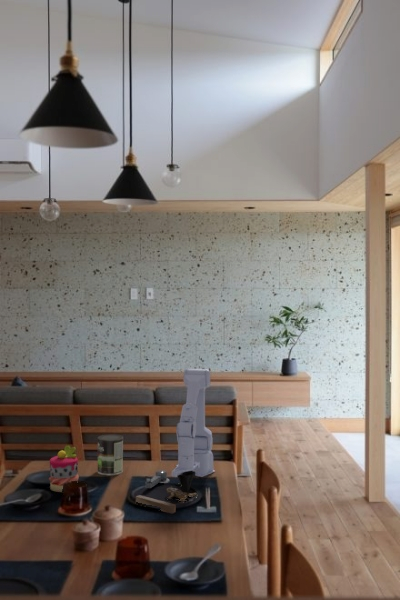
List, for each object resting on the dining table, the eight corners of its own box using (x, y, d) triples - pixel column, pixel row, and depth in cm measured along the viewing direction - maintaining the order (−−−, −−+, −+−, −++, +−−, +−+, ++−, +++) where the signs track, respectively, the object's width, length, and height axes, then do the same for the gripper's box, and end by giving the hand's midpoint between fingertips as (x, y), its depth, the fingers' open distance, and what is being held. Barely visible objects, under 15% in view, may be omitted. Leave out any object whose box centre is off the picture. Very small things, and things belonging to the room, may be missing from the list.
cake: (71, 493, 240) (71, 452, 240) (44, 491, 242) (44, 450, 242) (82, 484, 250) (82, 445, 250) (56, 482, 253) (56, 443, 252)
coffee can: (101, 476, 260) (101, 441, 259) (94, 469, 269) (94, 435, 269) (126, 473, 264) (126, 438, 264) (118, 467, 273) (118, 433, 273)
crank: (158, 476, 258) (158, 466, 258) (168, 478, 256) (168, 467, 256) (142, 487, 245) (142, 476, 244) (153, 489, 243) (153, 478, 243)
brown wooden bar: (139, 502, 231) (139, 495, 231) (175, 512, 222) (175, 504, 222) (135, 503, 229) (135, 496, 229) (171, 513, 220) (171, 506, 220)
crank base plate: (159, 477, 259) (159, 476, 259) (172, 480, 256) (172, 479, 256) (149, 481, 254) (149, 480, 254) (162, 484, 251) (162, 483, 251)
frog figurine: (158, 502, 232) (158, 491, 232) (171, 492, 244) (171, 482, 243) (189, 506, 229) (189, 495, 228) (200, 495, 240) (200, 485, 240)
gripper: (189, 448, 247) (188, 484, 248) (164, 457, 236) (164, 494, 236) (204, 451, 243) (204, 488, 244) (180, 460, 231) (180, 498, 232)
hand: (185, 491), depth 240 cm, fingers closed
